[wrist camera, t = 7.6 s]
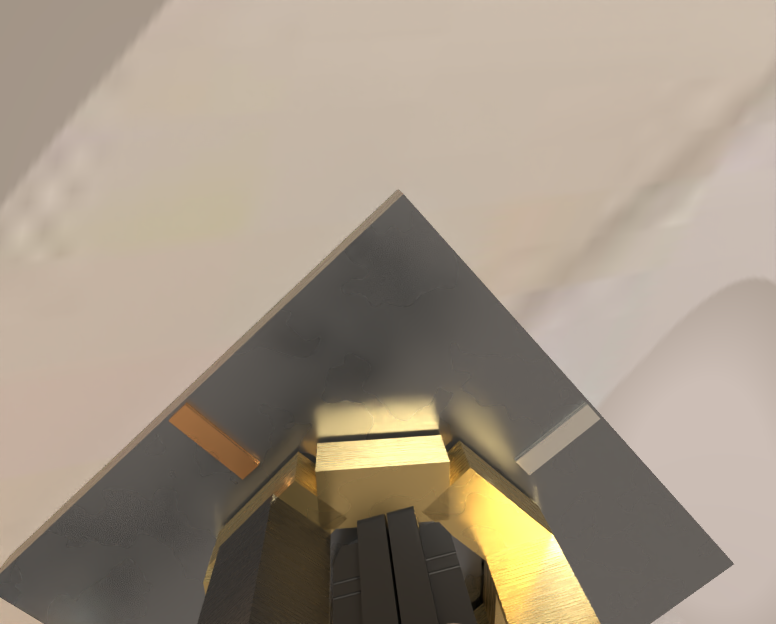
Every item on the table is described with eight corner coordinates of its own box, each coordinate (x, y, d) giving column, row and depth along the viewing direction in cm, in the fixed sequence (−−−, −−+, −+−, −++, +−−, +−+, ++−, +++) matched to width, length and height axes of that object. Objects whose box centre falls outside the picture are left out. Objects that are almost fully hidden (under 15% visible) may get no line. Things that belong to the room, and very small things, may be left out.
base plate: (369, 784, 26) (380, 1005, 20) (9, 556, 20) (-149, 758, 14) (709, 537, 23) (858, 699, 16) (397, 189, 17) (433, 222, 11)
